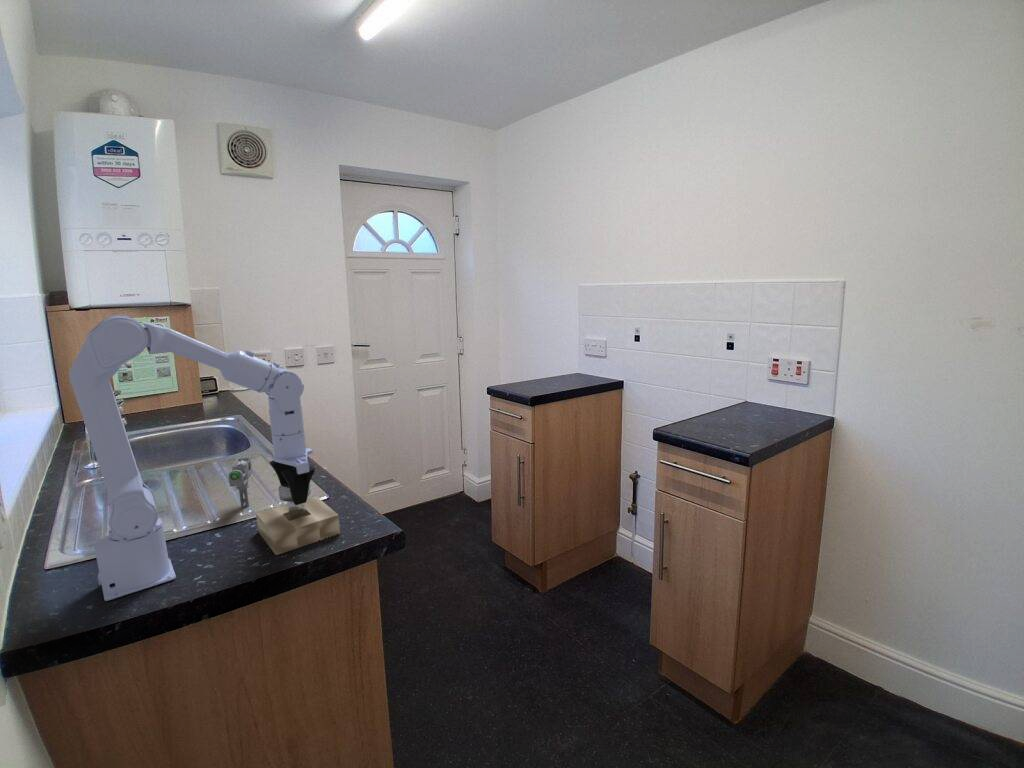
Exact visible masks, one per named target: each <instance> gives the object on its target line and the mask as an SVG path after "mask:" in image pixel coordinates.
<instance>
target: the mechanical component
mask: <svg viewBox="0 0 1024 768" xmlns="http://www.w3.org/2000/svg"><path fill="white" fill-rule="evenodd" d="M251 458H252V457H251V456H248V457H241V458H240V457H239V458H238V457H237V459H236V460H235V461H234V463H232V465H231V467H232V470H231V471H230V472H229V473H228V483H229V487H235V489H236V490H238V493H239V502H240V507H241V509H242V508H243V507H246V508H249V506H250V503H249V497H248V495H249V494H248V488H249V487H250V484H249V479H250V477H251V476H252V474H253V466H252V459H251Z"/></svg>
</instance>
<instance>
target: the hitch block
mask: <svg viewBox="0 0 1024 768" xmlns="http://www.w3.org/2000/svg"><path fill="white" fill-rule="evenodd" d="M304 505H305V512H304V513H302V514H300V515H289V512H288V503H287V504H283V505H281V506H278V507H273V508H269V509H266V510H263V511H258V512H256V513H255V515H256V516H255V518H256V525H257V531H258V533H259V535H260V536H261V537H262V539H263V540H264V541H265V543H266V544H267V545H268V547H269V548H270V550H272V552H273V553H274V554H275V556H278V555H280V554H284V553H288V552H290V551H293V550H296V549H299V548H303V547H305V546H308V545H311V544H314V543H317V542H319V540H320V541H323V540H326V539H329V538H332V537H335V536H337V535H336V534H338V535H341V528H340V526H341V525H340V517H339V514H338V513H337V512H336V511H335V510H333V509H332V508H331V507H330V506H328V504H326V503H325V502H324V501H323V500H322V499H320V498H319V496H313V497H310V498H307V501H306V503H304ZM334 535H335V536H334ZM331 536H332V537H331ZM328 537H329V538H328ZM325 538H326V539H325Z"/></svg>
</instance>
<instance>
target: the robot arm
mask: <svg viewBox="0 0 1024 768" xmlns="http://www.w3.org/2000/svg"><path fill="white" fill-rule="evenodd" d="M141 322H142V324H143V325H142V324H141V323H140V322H139V321H138V320H137V319H135V318H133V317H131V316H128V315H124V314H114V315H111V316H108V317H106V318H103V319H102V320H101V321H100V322H99V323H98V324H97V325H95V326H94V327H93V328H92V329H91V330H90V331H89V332H88V334H87V336H86V338H85V341H83V344H82V346H81V348H80V350H79V352H78V354H77V356H76V358H75V360H74V362H73V364H72V366H71V367H70V370H69V372H68V376H69V377H68V378H69V381H70V384H71V387H72V390H73V393H74V396H75V400H76V401H77V405H78V408H79V410H80V414H81V417H82V420H83V422H84V424H85V425H84V426H85V428H86V431H87V435H88V437H89V440H90V443H91V446H92V450H93V452H94V455H95V458H96V461H97V463H98V466H99V467H98V468H99V470H100V472H101V475H102V479H103V481H104V485H105V488H106V493H107V498H108V509H109V518H108V526H109V530H108V535H106V536H104V537H102V538H99V539H95V540H94V550H95V551H94V552H95V555H96V556H95V557H96V562H97V568H98V573H97V580H98V584H99V586H101V589H102V594H103V599H104V601H105V602H107V601H111V600H115V599H118V598H120V597H123V596H127V595H129V594H132V593H136V592H139V591H142V590H145V589H148V588H151V587H154V586H158V585H160V584H163V583H167V582H170V581H172V580H175V579H176V578H177V577H176V573H175V570H174V567H173V564H172V561H171V558H169V553H168V548H167V541H166V535H165V530H164V522H163V520H162V519H161V518H160V517H159V512H158V509H157V506H156V504H155V500H156V499H155V498H156V497H155V493H154V491H153V490H152V489H151V488H150V487H149V486H148V485H146V484H145V483H144V481H143V478H142V474H141V473H140V470H139V468H138V466H137V461H136V458H135V456H134V451H133V450H132V446H131V443H130V440H129V437H128V434H127V431H126V426H125V425H124V421H123V419H122V414H121V412H120V409H119V405H118V403H117V399H116V396H115V393H114V389H113V386H112V384H111V381H110V380H111V379H112V378H113V377H114V376H115V375H116V373H117V372H119V370H120V369H121V367H122V366H123V365H124V364H126V363H128V362H129V361H132V360H133V359H135V358H136V357H138V356H139V355H141V354H142V353H143V352H144V350H147V352H148V353H149V355H154V354H163V353H165V354H166V353H173V354H174V355H178V356H181V357H183V358H187V359H189V360H192V361H195V362H197V363H199V364H200V363H201V364H203V365H206V366H209V367H212V368H214V369H216V370H219V372H220V373H221V376H222V378H223V380H224V381H226V382H227V381H228V382H230V383H233V384H235V385H238V386H241V387H243V388H246V389H249V390H251V391H253V392H256V393H265V394H266V395H267V396H268V397H267V399H268V405H269V406H268V408H269V409H268V415H269V423H270V430H271V431H270V432H271V433H270V434H271V441H272V449H273V454H272V459H273V460H270V461H269V465H270V466H271V468H272V469H273V470H274V472H275V474H276V476H277V478H278V481H279V484H280V485H282V484H284V483H287V484H288V486H289V489H290V492H291V496H292V500H293V502H294V504H295V505H299V504H302V503H306V501H307V499H308V497H309V496H308V489H309V484H310V483H311V481H312V477H313V476H314V474H315V470H316V468H315V466H313V465H309V464H310V463H309V461H308V457H309V456H308V455H312V454H313V453H314V451H313V449H312V448H309V447H306V446H307V445H306V438H305V437H306V436H305V435H306V434H305V426H304V417H303V407H302V404H301V396H302V395H303V393H304V391H305V390H304V389H305V385H304V384H303V381H302V380H301V379H302V378H300V376H299V375H298V374H296V373H295V372H293V371H290V370H288V369H286V368H285V367H283V366H281V365H280V363H279V362H278V363H277V362H276V361H275V362H274V361H273V363H271V362H269V361H266V360H264V359H261V358H259V357H256V356H255V352H253V351H251V350H249V349H246V350H245V351H242V350H240V349H237V350H234V351H231V352H224V351H222V350H220V349H218V348H217V347H216V348H215V347H214V346H211V345H208V344H207V343H204V342H203V341H199V340H197V339H195V338H193V337H190V336H188V335H185V334H183V333H181V332H179V331H176V330H175V329H172V328H169V327H166V326H163V325H158V324H155V323H151V322H148V321H144V320H141ZM307 496H308V497H307Z"/></svg>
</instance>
